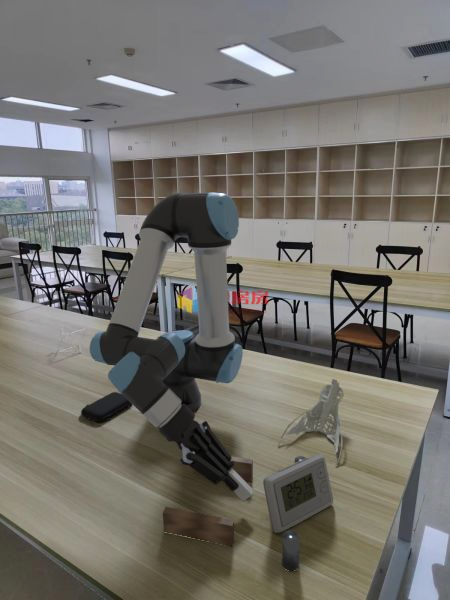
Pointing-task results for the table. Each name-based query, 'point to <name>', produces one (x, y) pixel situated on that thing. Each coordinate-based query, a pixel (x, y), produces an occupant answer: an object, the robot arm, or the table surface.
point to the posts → (291, 544)
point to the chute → (205, 524)
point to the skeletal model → (322, 415)
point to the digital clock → (297, 492)
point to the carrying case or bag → (106, 407)
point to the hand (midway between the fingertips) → (248, 495)
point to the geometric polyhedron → (69, 341)
